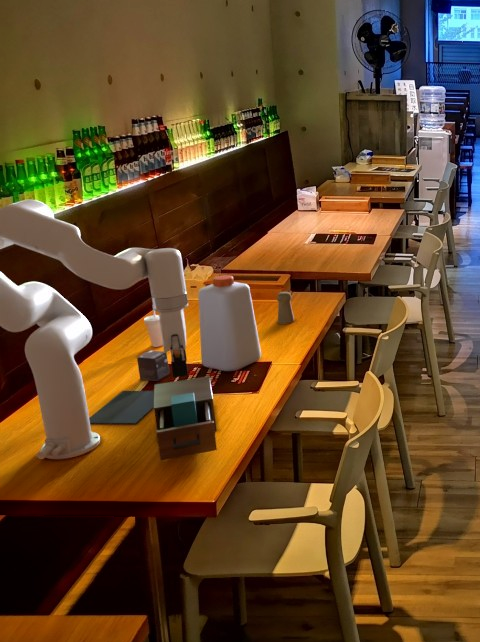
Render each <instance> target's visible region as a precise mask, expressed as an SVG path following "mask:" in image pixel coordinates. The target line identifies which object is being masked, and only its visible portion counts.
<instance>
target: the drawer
mask: <svg viewBox="0 0 480 642" xmlns="http://www.w3.org/2000/svg"><path fill="white" fill-rule="evenodd" d="M195 406H196V414H197V422H198V423H196V424H191V425H185V426H179V427H174V422H173V415H172V408H170V409H164V410H160V430H157V429H156V431H155V433H156V438H157V439H156V441H157V447H158V453H159V460H160V461H167V460H171V459H176V458H183V457H187V456H192V455H198V454H203V453H209V452H214V451H217V450H218V448H217V440H216V431H214V422H213V421H210V416H209V408H208V402H206V403H200V404H195Z"/></svg>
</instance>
